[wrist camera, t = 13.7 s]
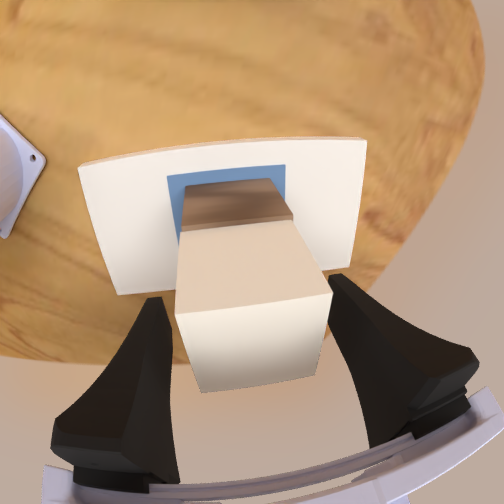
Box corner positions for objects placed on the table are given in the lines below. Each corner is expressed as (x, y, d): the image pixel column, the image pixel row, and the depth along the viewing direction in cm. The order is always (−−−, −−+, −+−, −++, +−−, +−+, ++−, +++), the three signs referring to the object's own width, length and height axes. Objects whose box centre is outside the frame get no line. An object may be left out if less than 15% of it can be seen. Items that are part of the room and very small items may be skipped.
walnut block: (195, 256, 19) (196, 308, 15) (185, 185, 17) (180, 226, 12) (269, 247, 20) (288, 297, 16) (269, 177, 17) (293, 214, 13)
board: (120, 286, 21) (117, 296, 20) (83, 162, 15) (76, 168, 15) (344, 259, 23) (349, 267, 22) (359, 137, 18) (367, 141, 17)
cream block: (196, 312, 15) (201, 393, 11) (180, 232, 13) (174, 314, 9) (287, 300, 16) (314, 375, 12) (291, 219, 13) (332, 292, 9)
